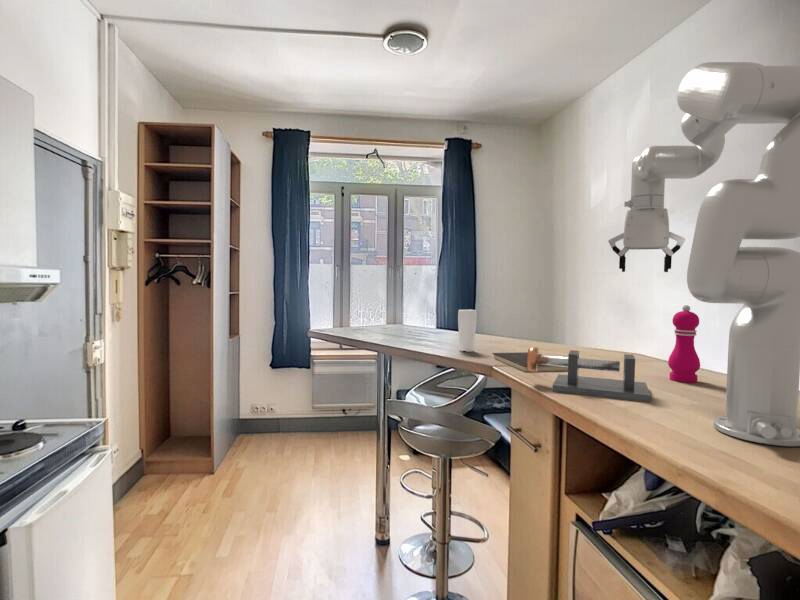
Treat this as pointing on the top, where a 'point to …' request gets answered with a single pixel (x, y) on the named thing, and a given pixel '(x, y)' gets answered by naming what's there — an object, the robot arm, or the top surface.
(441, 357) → the top surface
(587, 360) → the shaft
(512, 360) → the hardcover book
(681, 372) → the pepper mill
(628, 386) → the stand
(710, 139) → the robot arm
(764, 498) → the top surface
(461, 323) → the drinking glass
